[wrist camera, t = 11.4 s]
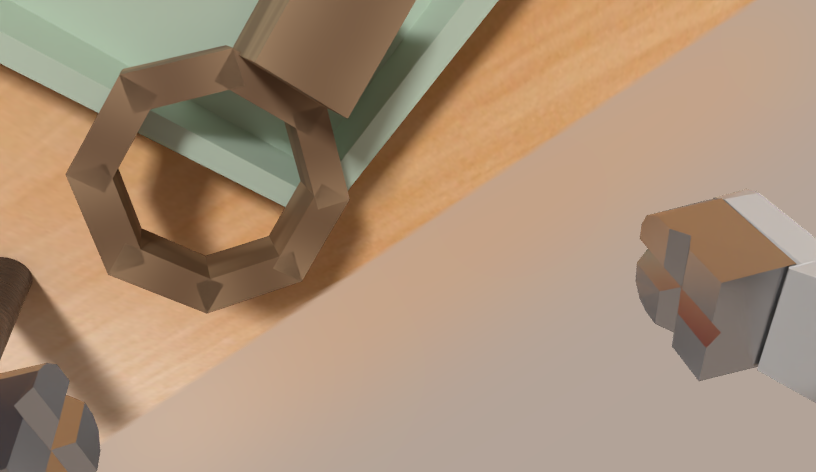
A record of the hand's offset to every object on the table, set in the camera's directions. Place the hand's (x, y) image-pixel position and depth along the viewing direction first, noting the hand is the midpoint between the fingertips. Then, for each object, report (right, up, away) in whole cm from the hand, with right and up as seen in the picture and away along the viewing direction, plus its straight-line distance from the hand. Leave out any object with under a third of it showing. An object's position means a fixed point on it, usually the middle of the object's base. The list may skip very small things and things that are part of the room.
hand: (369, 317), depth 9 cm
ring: (-5, +6, +14) cm, 16 cm away
